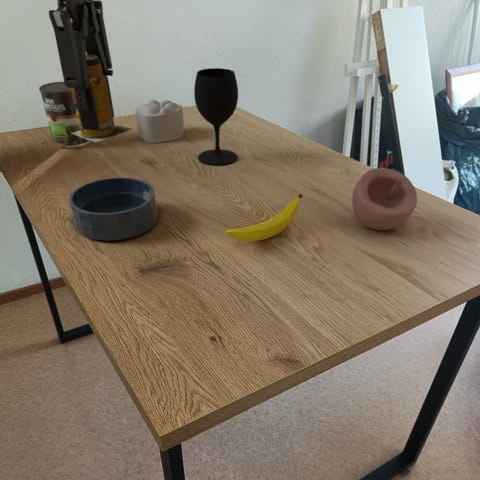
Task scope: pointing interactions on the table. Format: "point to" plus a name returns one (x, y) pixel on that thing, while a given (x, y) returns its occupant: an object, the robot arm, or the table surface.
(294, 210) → the banana
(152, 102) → the lumpy-topped squat cylinder
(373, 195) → the mortar and pestle
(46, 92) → the coffee can
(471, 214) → the table surface
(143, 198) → the bowl
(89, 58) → the condiment
